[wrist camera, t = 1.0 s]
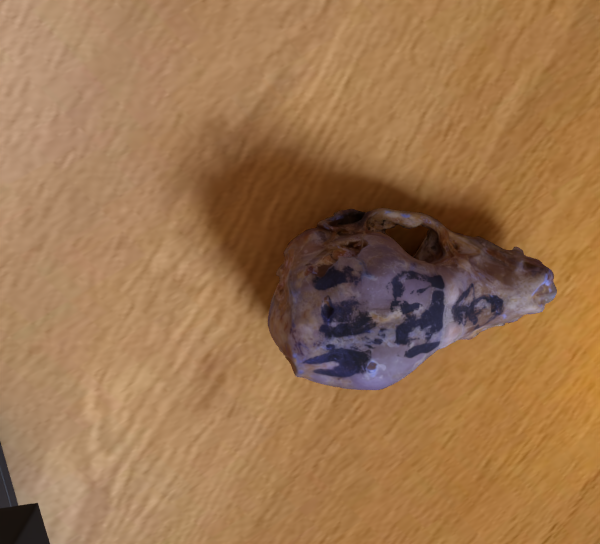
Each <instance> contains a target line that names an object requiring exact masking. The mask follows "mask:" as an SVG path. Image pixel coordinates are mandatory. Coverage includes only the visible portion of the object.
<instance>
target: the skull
mask: <svg viewBox="0 0 600 544" xmlns="http://www.w3.org/2000/svg"><path fill="white" fill-rule="evenodd" d="M396 225H401V226H402V227H404V228H409V229H410V228H415V227H417V226H419V225H422V226H423V227H427V228H429V230H428V232H427V237H426V238H425V239H424V240H423V242H422V244H421V246H420V247H419V249H418V251H417V252H416V254H415V255H414V256H413V257H412V256H410V255H409V254H408V253H406V252H405V251H404V250H403V249H402V247H401V246H400V245H399V244H398V243H397V242H396V241H395V240H394V239H392V238H391V237H389V236H388V235H387V234H386V233H385V230H386V229H389V228H393V227H395V226H396ZM284 256H285V261H284V263H283V264H282V265H281V266H280V268H279V269H278V270H277V273H276V275H277V276H279V277H280V282H279V284H278V285H277V289H276V291H275V293H274V295H273V298H272V301H271V305H270V309H269V316H268V327H269V331H270V334H271V336H272V338H273V340H274V342H275V343H276V345H277V346H278V347H279V349H280V351H281V352H282V353H283V354H284V355H285V357H286V359H287V360H288V361H289V362H290V364H291V366H292V369H293V371H294V374H295V376H297V377H302V378H305V379H308V380H311V381H314V382H317V383H321V384H325V385H329V386H334V387H340V388H346V389H357V390H380V389H383V388H386V387H388V386H390V385H392V384H394V383H396V382H398V381H399V380H401V379H403V378H404V377H406V376H407V375H408V374H410V373H411V372H412V371H413V370H415V369H416V368H417V367H418V366H419V365H420V364H421V363H423V362H424V361H425V360H426V359H427V358H428V357H430V356H431V355H432V354H433V353H435V352H436V351H437V350H438V349H441V348H444V347H446V346H448V345H449V344H451V343H453V342H455V341H457V340H460V339H467V340H470V339H472V338H473V337H475V336H477V335H478V334H479V333H480V332H481V331H484V330H486V329H488V328H491V327H494V326H503V325H504V324H505V323H510V322H514V321H517V320H518V319H519V318H521V317H522V316H523V315H525V314H535V313H540V312H542V311H543V310H544V306H545V304H546V303H549V302H550V301H552V300H553V299H554V297H555V295H556V293H557V289H556V287H555V285H554V282H553V279H554V274H553V272H552V271H551V270H550V269H549V268H547V267H546V266H544V265H543V264H542V262H540V261H539V260H537V259H534V258H531V257H527V256H525V255H524V253H523V250H521V249H520V248H518V247H514V248H513V250H504V249H502V248H500V247H498V246H496V245H495V244H493V243H491V242H489V241H487V240H485V239H483V238H481V237H469V236H465V235H463V234H459V233H453V232H451V231H450V230H448V229H447V228H445V227H444V226H443V225H442V224H441V223H440V222H439V221H437V220H436V219H433V218H432V217H431V216H429V215H426V214H423V213H416V212H408V211H396V210H392V209H387V208H380V209H375V210H372V211H368V212H366V213H364V212H360V211H357V210H354V209H348V210H342V211H338V212H336V213H334V216H333V217H330V218H327V219H325V220H321V221H320V222H318V223H317V228H313V229H309V230H306V231H304V232H303V233H301V234H300V235H299V236H297V237H296V238H294V239H293V240H292V241H291V242H290V243H289V244H288V246H287V248H286V249H285V251H284Z"/></svg>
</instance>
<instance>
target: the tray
mask: <svg viewBox="0 0 600 544" xmlns="http://www.w3.org/2000/svg"><path fill="white" fill-rule="evenodd" d="M13 506H18V503H17V499H16V496H15V492H14V489H13V485H12V482H11V478H10V475H9V471H8V468H7V464H6V460H5V457H4V453H3V450H2V446H1V443H0V508H6V507H13Z"/></svg>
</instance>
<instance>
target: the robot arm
mask: <svg viewBox="0 0 600 544" xmlns="http://www.w3.org/2000/svg"><path fill="white" fill-rule="evenodd" d="M0 544H50V543H49V539H48V536H47V533H46V529H45V526H44V522H43V519H42V516H41V512H40V509H39V506H38V503H34V504H27V505H20V506H13V507H6V508H0Z"/></svg>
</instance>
